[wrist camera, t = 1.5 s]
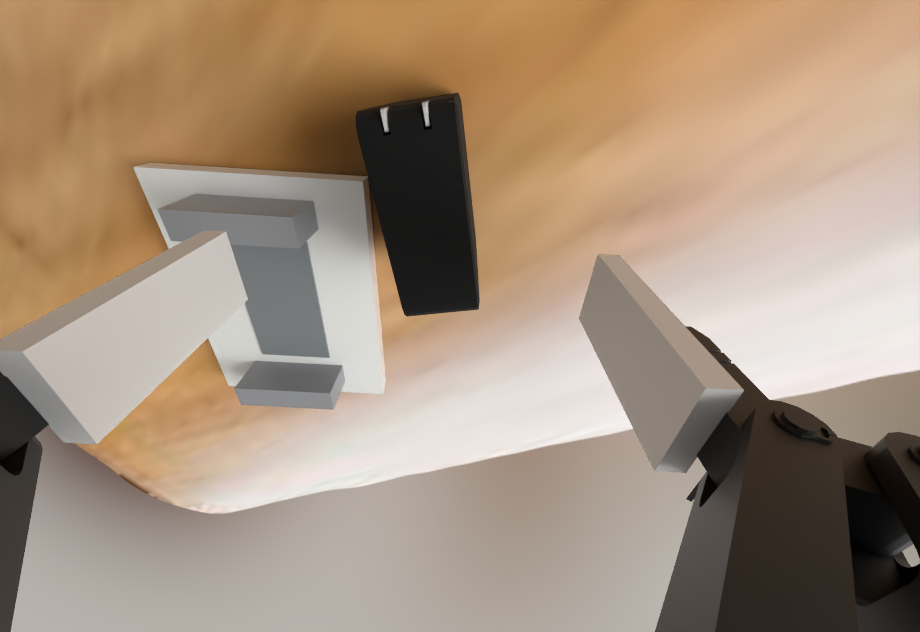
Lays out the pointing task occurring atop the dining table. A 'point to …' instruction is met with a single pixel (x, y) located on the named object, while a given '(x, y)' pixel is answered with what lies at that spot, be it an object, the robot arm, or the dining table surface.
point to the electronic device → (423, 200)
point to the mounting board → (285, 277)
